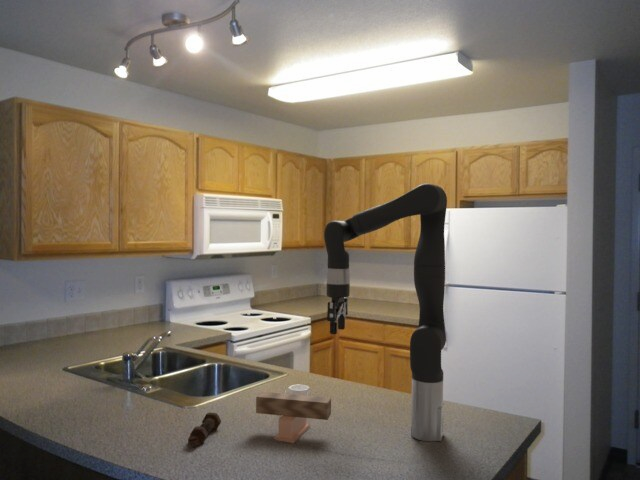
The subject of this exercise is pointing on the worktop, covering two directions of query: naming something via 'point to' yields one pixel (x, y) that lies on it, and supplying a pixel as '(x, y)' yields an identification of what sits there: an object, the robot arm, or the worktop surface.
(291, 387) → the cup
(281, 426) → the ridge
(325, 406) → the walnut bar
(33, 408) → the worktop surface
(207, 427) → the bolt
